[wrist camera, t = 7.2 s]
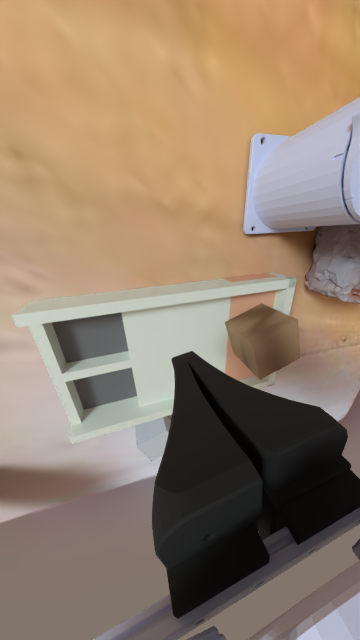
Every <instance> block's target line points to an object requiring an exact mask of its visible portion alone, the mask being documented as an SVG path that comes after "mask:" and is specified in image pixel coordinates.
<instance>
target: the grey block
mask: <svg viewBox="0 0 360 640" xmlns="http://www.w3.org/2000/svg"><path fill="white" fill-rule="evenodd" d="M170 424H171V419H170V418H169V417H168V416H165V417H162V418H158V419H155V420H151V421H148V422H145V423H141V424H138V425H135V431H136V443H137V448H138V449H139V450H140V451H141V452H142V453H143V454H144V455H146V456H147V457H148V458H149V459H150V460H151V461H153V460H155V459H156V458H158V457H160V456H162V455H163V454H164V450H165V446H166V442H167V438H168V434H169V429H170Z"/></svg>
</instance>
